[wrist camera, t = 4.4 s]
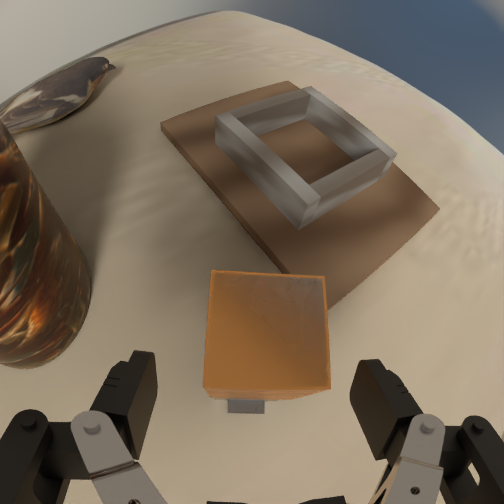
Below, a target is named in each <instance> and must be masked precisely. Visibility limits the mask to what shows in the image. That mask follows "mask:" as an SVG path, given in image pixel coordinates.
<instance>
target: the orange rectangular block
mask: <svg viewBox="0 0 504 504" xmlns="http://www.w3.org/2000/svg"><path fill="white" fill-rule="evenodd" d="M203 388H204V389H205V391H206V392H207V393H208V395H209V396H210V397H212V398H214V399H221V400H228V413H253V414H264V401H277V400H288V399H295V398H299V397H303V396H307V395H310V394H314V393H318V392H322V391H325V390H329V389H331V375H330V350H329V330H328V314H327V300H326V287H325V276H313V275H293V274H275V273H257V272H240V271H224V270H211V279H210V291H209V303H208V316H207V330H206V345H205V360H204V377H203Z"/></svg>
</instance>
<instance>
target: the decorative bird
mask: <svg viewBox="0 0 504 504" xmlns="http://www.w3.org/2000/svg"><path fill="white" fill-rule="evenodd" d="M115 68H116V67H115V66H113V65H111V64H109V61H108V60H107V59H106V58H104V57H93V58H88V59H84V60H82V61H80V62H78V63H76V64H75V65H73V66H71V67H69V68H67V69H65V70H62V71H60V72H58V73H56V74H54V75H52V76H50V77H47V78H45V79H43V80H42V81H40V82H38V83H36V84H35V85H34V86H32V87H31V88H29V89H28V90H26V91H25V92H23V93H22V94H20V95H19V96H18V97H16V98H15V99H14V100H13V101H11V102H10V103H9V104H8V105H7V106H5V107H4V108H3V109H2V110H1V111H0V119H1V120H2V122H3V123H4V125H5V126H6V127H7V129H8V131H9V132H10V134H17V133H22V132H25V131H28V130H32V129H34V128H37V127H40V126H44V125H47V124H50V123H53V122H55V121H57V120H59V119H61V118H63V117H64V116H66V115H68V114H69V113H71V112H73V111H74V110H76V109H77V108H79V107H80V106H81V105H83V104H84V103H85V102H86V101H87V99H88V98H89V97H90V95H91V94H92V92H93V90H94V89H95V88H96V86H97V85H98V84H99V82H100V81H101V80H102V78H103V77H104V75H105V73H107V72H108V71H109V70H112V69H115Z"/></svg>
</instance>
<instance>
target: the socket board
mask: <svg viewBox="0 0 504 504" xmlns="http://www.w3.org/2000/svg"><path fill="white" fill-rule="evenodd" d="M160 124H161V131H162V132H163V133H164V134H165V135H166V136H167V138H168V139H169V140H170V141H171V142H172V143H173V145H174V146H175V147H176V148H177V149H178V150H179V152H180V153H181V154H182V155H183V156H184V157H185V159H186V160H187V161H188V162H189V163H190V164H191V166H192V167H193V168H194V169H195V170H196V171H197V173H198V174H199V175H200V176H201V177H202V178H203V180H204V181H205V182H206V183H207V184H208V185H209V187H210V188H211V189H212V190H213V191H214V193H215V194H216V195H217V196H218V197H219V198H220V200H221V201H222V202H223V203H224V204H225V205H226V207H227V208H228V209H229V210H230V211H231V213H232V214H233V215H234V216H235V217H236V218H237V220H238V221H239V222H240V223H241V224H242V226H243V227H244V228H245V229H246V230H247V232H248V233H249V234H250V235H251V236H252V237H253V239H254V240H255V241H256V242H257V243H258V245H259V246H260V247H261V248H262V249H263V251H264V252H265V253H266V254H267V255H268V256H269V258H270V259H271V260H272V261H273V262H274V264H275V265H276V266H277V267H278V268H279V270H280V271H281V272H282V273H283V274H293V275H313V276H325V287H326V300H327V311H328V310H329V309H330V308H331V307H333V306H334V305H335V304H336V303H338V302H339V301H340V300H341V299H342V298H344V297H345V296H346V295H347V294H348V293H350V292H351V291H352V290H353V289H354V288H356V287H357V286H358V285H359V284H360V283H361V282H363V281H364V280H365V279H366V278H367V277H368V276H370V275H371V274H372V273H373V272H374V271H375V270H376V269H378V268H379V267H380V266H381V265H382V264H383V263H384V262H385V261H387V260H388V259H389V258H390V257H391V256H392V255H393V254H394V253H395V252H396V251H398V250H399V249H400V248H401V247H402V246H403V245H404V244H405V243H406V242H407V241H408V240H409V239H410V238H412V237H413V236H414V235H415V234H416V233H417V232H418V231H419V230H420V229H421V228H422V227H423V226H424V225H425V224H426V223H427V222H428V221H429V220H430V219H431V218H432V217H433V216H434V215H435V214H436V213H437V212H438V211H439V209H440V208H439V207H438V206H437V205H436V204H435V203H434V202H433V201H432V200H431V199H430V198H429V197H428V196H427V195H426V194H425V193H424V192H423V191H422V190H421V189H420V188H419V187H418V186H417V185H416V184H415V183H414V182H413V181H412V180H411V179H410V178H409V177H408V176H407V175H406V174H405V173H404V172H403V171H402V170H401V169H400V168H398V167H397V166H396V165H395V164H394V163H393V160H394V158H395V157H396V155H397V153H396V152H395V151H394V150H393V149H392V148H390V147H389V146H388V145H387V144H386V143H385V142H383V141H382V140H381V139H380V138H379V137H378V136H376V135H375V134H374V133H373V132H371V131H370V130H369V129H368V128H367V127H365V126H364V125H363V124H362V123H360V122H359V121H358V120H356V119H355V118H354V117H353V116H351V115H350V114H349V113H347V112H346V111H345V110H343V109H342V108H341V107H339V106H338V105H337V104H335V103H334V102H333V101H331V100H330V99H328V98H327V97H326V96H324V95H323V94H321V93H320V92H319V91H317V90H316V89H314V88H313V87H311V86H310V87H306V88H302V89H300V88H298V87H297V86H295V85H294V84H292V83H291V82H289V81H284V82H280V83H277V84H273V85H269V86H265V87H262V88H258V89H255V90H251V91H248V92H245V93H241V94H238V95H235V96H232V97H229V98H225V99H222V100H219V101H216V102H213V103H211V104H208V105H205V106H202V107H199V108H196V109H194V110H191V111H188V112H186V113H183V114H180V115H178V116H175V117H173V118H170V119H168V120H165V121H163V122H160Z"/></svg>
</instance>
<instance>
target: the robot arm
mask: <svg viewBox="0 0 504 504" xmlns="http://www.w3.org/2000/svg"><path fill="white" fill-rule="evenodd" d="M157 388H158V385H157V374H156V364H155V355H154V353H153V352H146V351H138V350H134V352H133V353H132V355H131V357H130V360H129V362H125V361H120V362H119V363H117V364H116V365H115V366H113V367H112V368H111V370H110V372H109V374H108V376H107V378H106V379H105V381H104V383H103V385H102V387H101V389H100V391H99V393H98V394H97V396H96V398H95V400H94V402H93V404H92V406H91V408H90V410H89V411H85V412H82V413H80V414H78V415H76V416H75V417H74V419H73V420H72V422H48V420H47V417H46V416H45V415H44V414H43V413H42V412H40V411H38V410H33V409H28V410H23V411H21V412H19V413H18V414H16V415H15V416H14V418H13V419H12V421H11V422H10V424H9V426H8V427H7V429H6V431H5V432H4V434H3V436H2V438H1V439H0V504H63V502H64V499H65V496H66V493H67V489H68V486H69V483H70V480H71V479H80V480H92V482H93V484H94V486H95V488H96V490H97V492H98V494H99V496H100V498H101V500H102V502H103V504H167V502H166V501H165V500H164V498H163V497H162V495H161V494H160V493H159V491H158V490H157V488H156V487H155V486H154V484H153V483H152V481H151V480H150V478H149V477H148V475H147V474H146V472H145V471H144V469H143V468H142V466H141V465H140V464H139V463H138V462H135V461H134V459H136V460H139V457H140V453H141V450H142V446H143V442H144V439H145V435H146V432H147V428H148V425H149V421H150V418H151V414H152V411H153V408H154V404H155V401H156V397H157ZM350 402H351V405H352V407H353V409H354V412H355V414H356V416H357V419H358V421H359V423H360V425H361V428H362V430H363V432H364V435H365V437H366V439H367V442H368V444H369V446H370V449H371V451H372V453H373V456H374V458H375V460H381V459H386V458H387V461H388V463H387V465H386V467H385V469H384V471H383V474H382V476H381V478H380V480H379V483H378V485H377V487H376V489H375V491H374V493H373V496H372V498H371V500H370V501H369V503H368V504H435V503H436V500H437V496H438V492H439V489H440V491H441V494H442V496H443V498H444V500H445V503H446V504H504V442H503V441H502V439H501V438H500V437H499V435H498V434H497V432H496V431H495V430H494V428H493V427H492V425H491V424H490V423H489V422H488V421H487V420H486V419H485V418H483V417H480V416H469V417H467V418H466V419H465V420H464V421H463V423H462V425H461V426H445V425H444V423H443V422H442V421H441V420H440V419H439V418H438V417H436V416H434V415H431V414H424V413H423V412H422V410H421V409H420V407H419V406H418V404H417V403H416V401H415V400H414V398H413V397H412V395H411V394H410V393H408V390H407V388H406V387H405V386H404V384H403V382H402V381H401V379H400V378H399V377H398V376H397V375H396V374H394V373H393V372H392V371H390V370H386V369H385V367H384V366H383V364H382V363H381V361H380V360H379V359H371V360H361V361H360V362H359V363H358V366H357V370H356V373H355V376H354V379H353V383H352V386H351V389H350ZM471 463H472V464H473V465H474V467H475V469H476V471H477V472H478V474H479V477H480V483H479V485H477V484H476V482H475V480H474V478H473V476H472V474H471V473H470V471H469V469H468V467H469V465H470V464H471ZM207 504H246V503H234V502H212V501H207ZM300 504H346V501H345V498H344V496H337V497H330V498H322V499H313V500H309V501H306V502H303V503H300Z"/></svg>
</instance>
